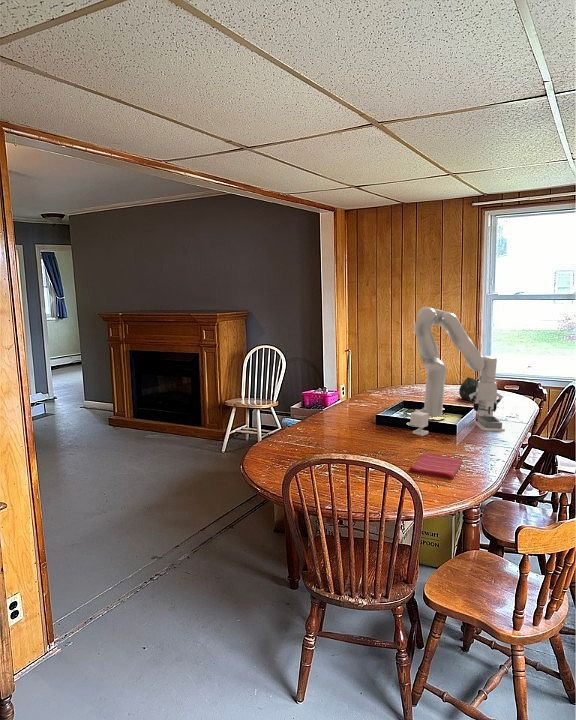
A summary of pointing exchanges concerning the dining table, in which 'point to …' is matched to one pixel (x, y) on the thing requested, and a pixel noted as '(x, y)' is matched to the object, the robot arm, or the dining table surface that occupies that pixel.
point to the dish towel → (436, 466)
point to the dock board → (489, 423)
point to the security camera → (419, 422)
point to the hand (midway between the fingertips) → (484, 410)
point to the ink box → (484, 408)
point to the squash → (468, 388)
